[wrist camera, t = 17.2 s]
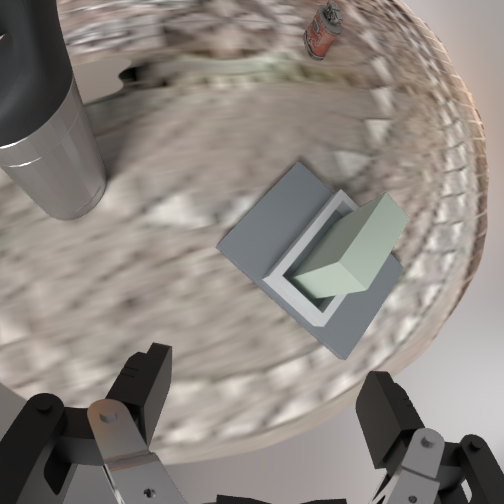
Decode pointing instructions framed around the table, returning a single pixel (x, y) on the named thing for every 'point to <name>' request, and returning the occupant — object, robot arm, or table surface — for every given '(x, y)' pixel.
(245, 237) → the grey socket base
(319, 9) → the lighter
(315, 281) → the pale green rectangular block
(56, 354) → the table surface
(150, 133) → the table surface
